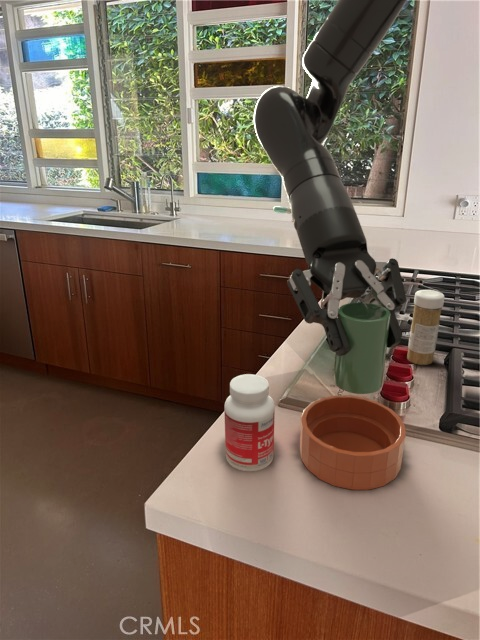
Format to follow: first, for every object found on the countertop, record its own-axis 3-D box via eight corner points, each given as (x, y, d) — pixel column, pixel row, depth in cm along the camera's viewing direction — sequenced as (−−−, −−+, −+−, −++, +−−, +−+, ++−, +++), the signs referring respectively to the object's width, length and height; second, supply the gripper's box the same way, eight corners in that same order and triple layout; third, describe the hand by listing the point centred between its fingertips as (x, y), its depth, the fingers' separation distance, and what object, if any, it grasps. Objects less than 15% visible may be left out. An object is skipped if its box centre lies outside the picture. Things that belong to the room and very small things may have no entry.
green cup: (366, 366, 58) (372, 299, 55) (392, 389, 53) (401, 316, 50) (325, 374, 57) (328, 305, 53) (348, 398, 52) (354, 324, 48)
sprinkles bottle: (409, 357, 84) (419, 287, 79) (435, 363, 82) (447, 291, 77) (401, 367, 81) (411, 294, 76) (428, 374, 78) (441, 299, 73)
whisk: (341, 233, 200) (343, 220, 195) (269, 225, 207) (269, 212, 202) (344, 220, 207) (346, 207, 202) (274, 212, 214) (274, 199, 209)
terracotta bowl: (365, 422, 66) (369, 388, 64) (421, 480, 55) (428, 442, 53) (285, 439, 63) (286, 404, 61) (327, 504, 52) (330, 465, 50)
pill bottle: (263, 480, 55) (264, 401, 51) (217, 467, 58) (214, 390, 53) (280, 449, 61) (282, 375, 56) (237, 438, 63) (236, 366, 59)
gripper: (280, 208, 52) (323, 347, 46) (390, 200, 56) (443, 327, 50) (264, 244, 59) (299, 369, 53) (363, 234, 63) (407, 350, 57)
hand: (369, 348), depth 51 cm, fingers closed on green cup, 5 cm apart
